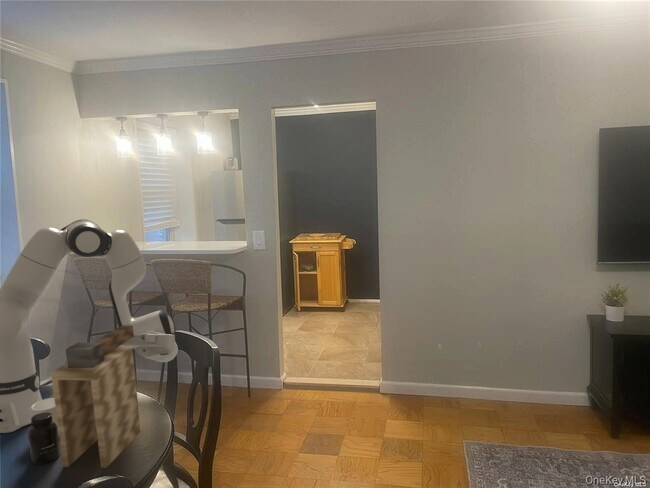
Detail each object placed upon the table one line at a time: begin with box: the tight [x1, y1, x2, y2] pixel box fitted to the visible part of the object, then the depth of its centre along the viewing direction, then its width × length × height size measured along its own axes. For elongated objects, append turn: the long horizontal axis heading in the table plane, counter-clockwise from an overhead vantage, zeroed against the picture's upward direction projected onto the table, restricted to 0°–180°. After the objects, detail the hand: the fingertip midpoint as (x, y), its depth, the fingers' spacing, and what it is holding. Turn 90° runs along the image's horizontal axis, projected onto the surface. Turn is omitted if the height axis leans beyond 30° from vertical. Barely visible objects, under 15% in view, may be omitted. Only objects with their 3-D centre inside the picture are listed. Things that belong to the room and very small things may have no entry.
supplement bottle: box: [27, 412, 61, 465], centre depth 127 cm, size 7×7×12 cm
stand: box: [50, 347, 142, 469], centre depth 129 cm, size 18×12×26 cm, turn 174°
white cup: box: [31, 397, 59, 436], centre depth 138 cm, size 8×8×10 cm
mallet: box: [65, 325, 134, 368], centre depth 133 cm, size 24×7×5 cm, turn 174°
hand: (129, 336), depth 146 cm, fingers open, 8 cm apart
